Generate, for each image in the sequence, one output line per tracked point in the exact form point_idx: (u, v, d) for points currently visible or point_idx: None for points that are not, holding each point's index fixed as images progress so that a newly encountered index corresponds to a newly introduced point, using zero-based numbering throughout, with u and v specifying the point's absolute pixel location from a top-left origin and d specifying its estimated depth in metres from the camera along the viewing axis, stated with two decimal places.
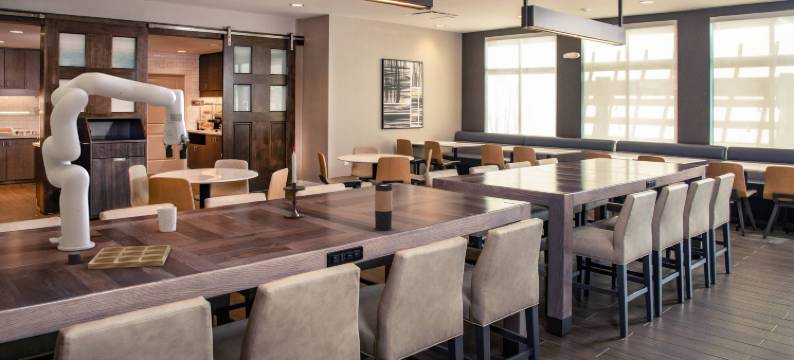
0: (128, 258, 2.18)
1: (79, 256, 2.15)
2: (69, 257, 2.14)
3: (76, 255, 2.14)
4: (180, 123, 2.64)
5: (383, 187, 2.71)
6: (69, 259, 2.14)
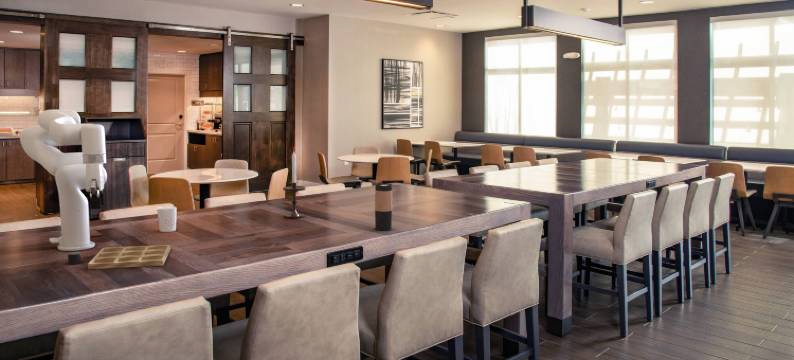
0: (128, 258, 2.18)
1: (79, 256, 2.15)
2: (69, 257, 2.14)
3: (76, 255, 2.14)
4: (91, 165, 2.18)
5: (383, 187, 2.71)
6: (69, 259, 2.14)
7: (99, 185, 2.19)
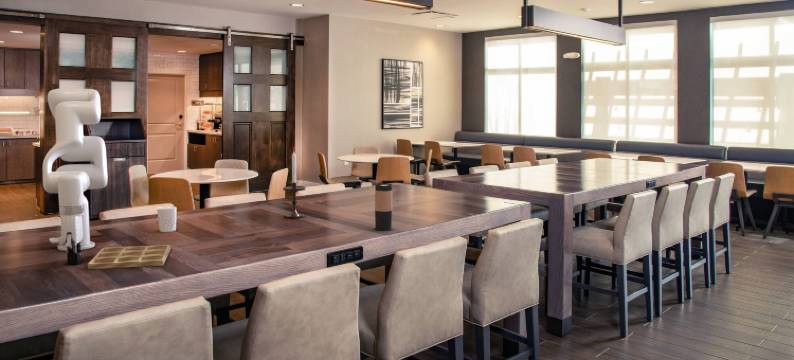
0: (128, 258, 2.18)
1: (79, 256, 2.15)
2: None
3: None
4: (67, 218, 2.09)
5: (383, 187, 2.71)
6: None
7: (74, 238, 2.10)
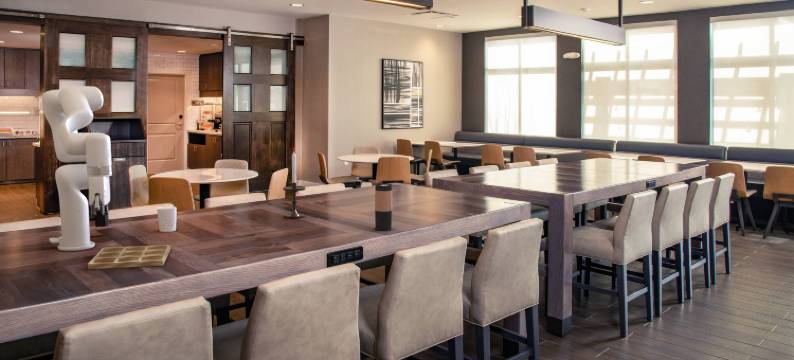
0: (128, 258, 2.18)
1: (107, 218, 2.10)
2: None
3: None
4: (95, 179, 2.04)
5: (383, 187, 2.71)
6: None
7: (103, 199, 2.05)
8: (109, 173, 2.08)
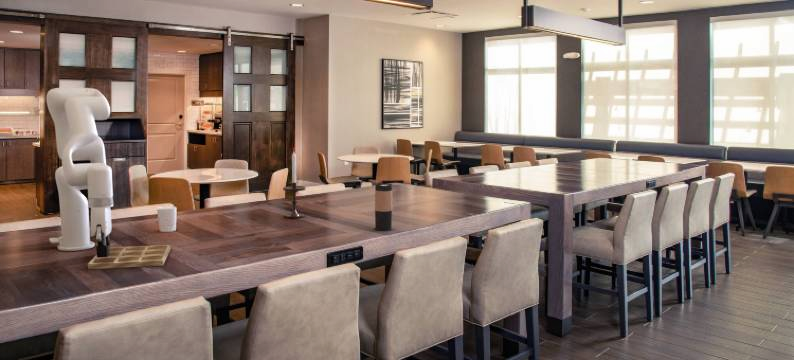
0: (128, 258, 2.18)
1: (108, 249, 2.12)
2: None
3: None
4: (96, 210, 2.06)
5: (383, 187, 2.71)
6: None
7: (104, 231, 2.07)
8: (110, 204, 2.09)
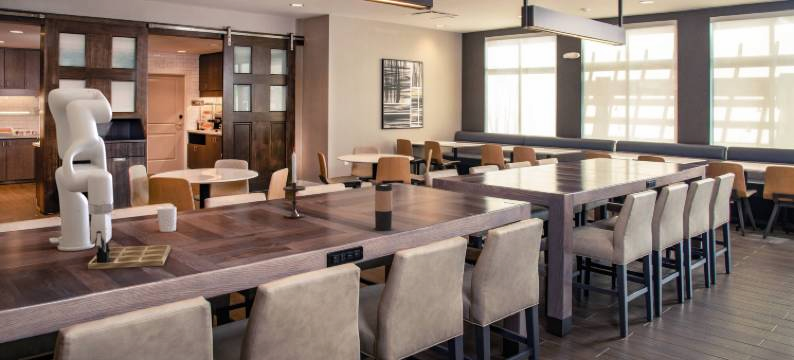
0: (128, 258, 2.18)
1: (108, 255, 2.12)
2: None
3: None
4: (96, 217, 2.06)
5: (383, 187, 2.71)
6: None
7: (104, 237, 2.07)
8: (111, 211, 2.10)
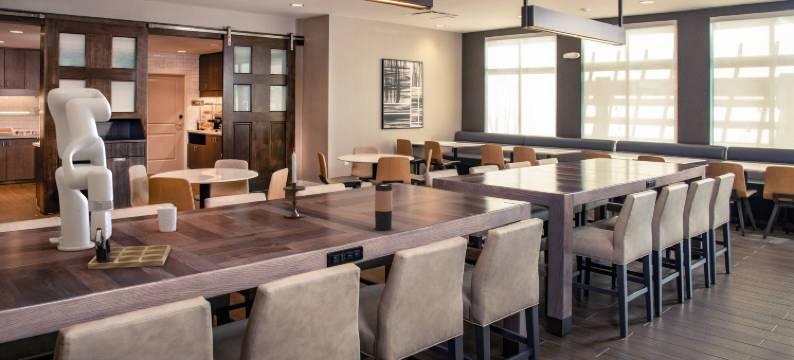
0: (128, 258, 2.18)
1: (108, 256, 2.12)
2: None
3: None
4: (96, 213, 2.06)
5: (383, 187, 2.71)
6: None
7: (104, 234, 2.07)
8: (111, 207, 2.09)
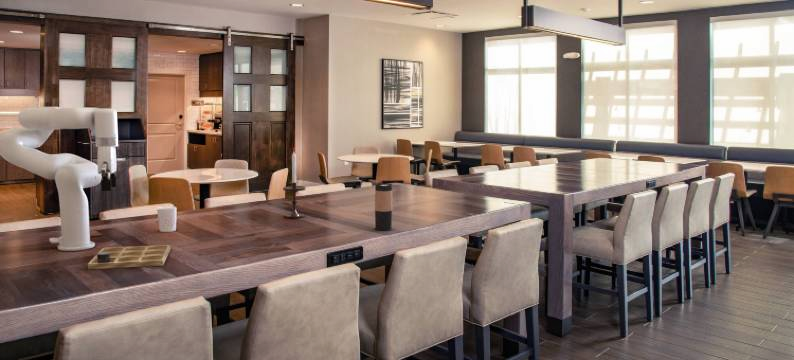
0: (128, 258, 2.18)
1: (108, 256, 2.12)
2: (98, 257, 2.11)
3: (105, 255, 2.11)
4: (103, 148, 2.24)
5: (383, 187, 2.71)
6: (98, 259, 2.11)
7: (110, 168, 2.25)
8: (116, 144, 2.27)
